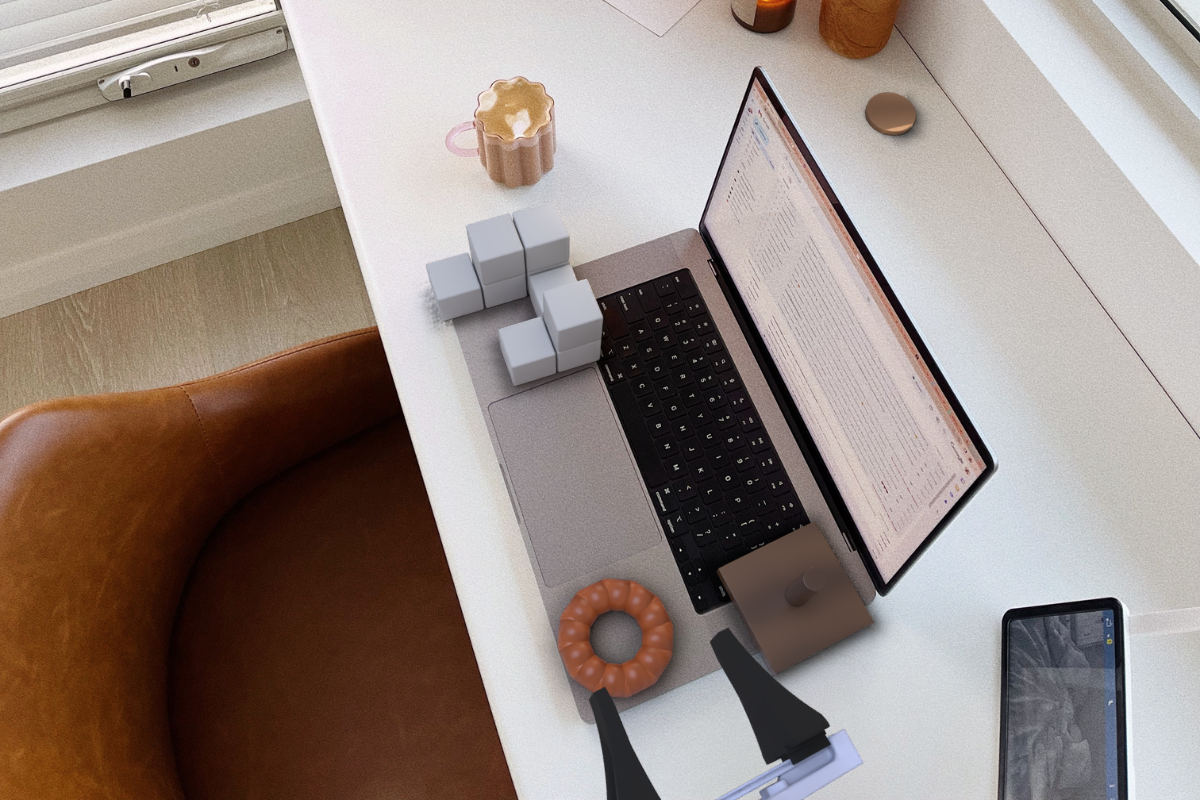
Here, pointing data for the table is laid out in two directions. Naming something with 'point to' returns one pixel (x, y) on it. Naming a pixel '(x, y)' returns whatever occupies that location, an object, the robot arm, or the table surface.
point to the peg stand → (794, 597)
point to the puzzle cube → (524, 290)
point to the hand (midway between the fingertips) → (659, 662)
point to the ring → (610, 675)
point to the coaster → (890, 113)
